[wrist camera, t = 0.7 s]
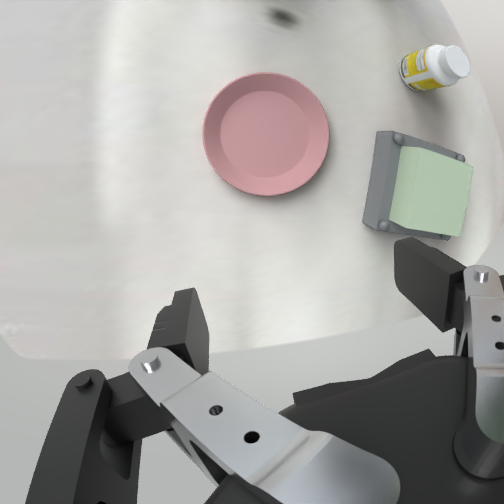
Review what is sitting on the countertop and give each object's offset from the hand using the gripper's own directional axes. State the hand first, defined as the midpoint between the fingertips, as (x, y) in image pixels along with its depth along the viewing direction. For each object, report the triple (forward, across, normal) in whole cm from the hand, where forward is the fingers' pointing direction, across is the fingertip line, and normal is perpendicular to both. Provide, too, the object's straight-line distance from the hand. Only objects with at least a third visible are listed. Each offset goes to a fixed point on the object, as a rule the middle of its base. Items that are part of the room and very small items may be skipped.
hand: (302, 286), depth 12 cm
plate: (+27, -3, -6) cm, 28 cm away
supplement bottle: (+27, -26, -12) cm, 39 cm away
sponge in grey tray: (+26, -21, +4) cm, 34 cm away
